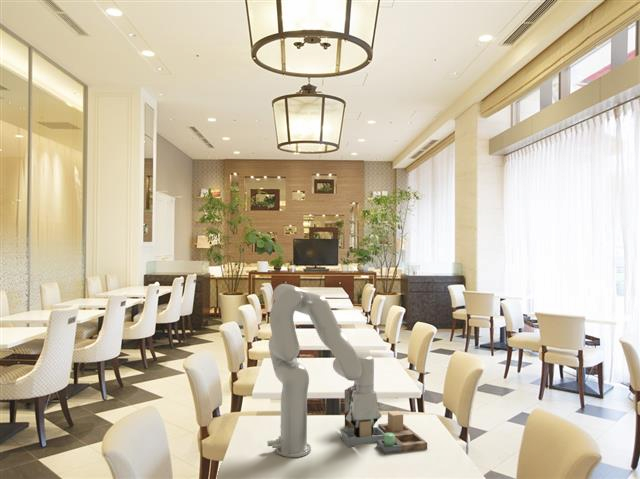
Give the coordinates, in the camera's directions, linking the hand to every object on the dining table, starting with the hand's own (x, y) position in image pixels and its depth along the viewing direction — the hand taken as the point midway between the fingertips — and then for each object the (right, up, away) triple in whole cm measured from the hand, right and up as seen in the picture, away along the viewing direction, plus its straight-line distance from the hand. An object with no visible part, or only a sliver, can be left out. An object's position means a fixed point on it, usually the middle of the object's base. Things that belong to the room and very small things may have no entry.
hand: (363, 435), depth 187 cm
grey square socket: (+8, -2, -10) cm, 13 cm away
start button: (+8, -1, -10) cm, 13 cm away
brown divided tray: (+15, -2, 0) cm, 15 cm away
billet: (0, -2, 0) cm, 2 cm away
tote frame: (0, -2, 0) cm, 2 cm away
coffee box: (-1, -2, +12) cm, 12 cm away
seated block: (+13, -1, +5) cm, 14 cm away
